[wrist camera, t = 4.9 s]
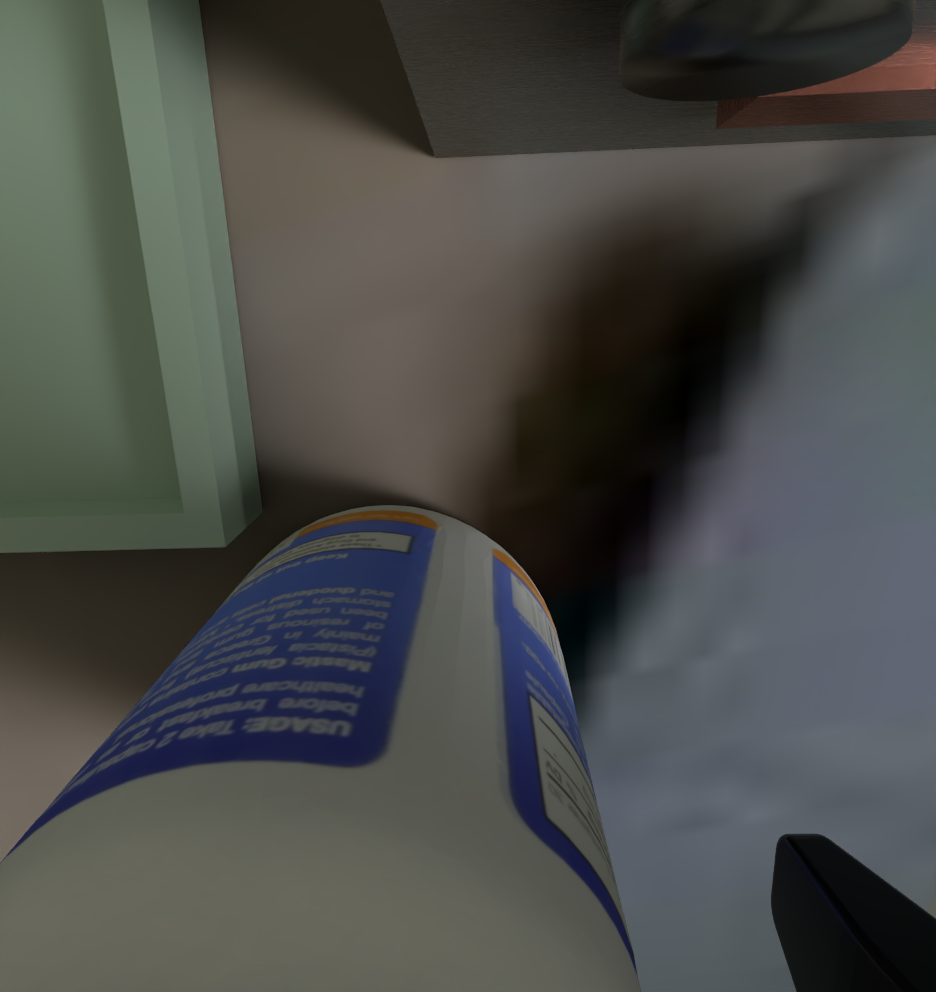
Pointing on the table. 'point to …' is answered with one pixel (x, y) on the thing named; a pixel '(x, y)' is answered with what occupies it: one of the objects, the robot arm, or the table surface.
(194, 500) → the tray
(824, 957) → the robot arm
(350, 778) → the pill bottle
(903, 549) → the table surface
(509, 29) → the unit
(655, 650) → the table surface
